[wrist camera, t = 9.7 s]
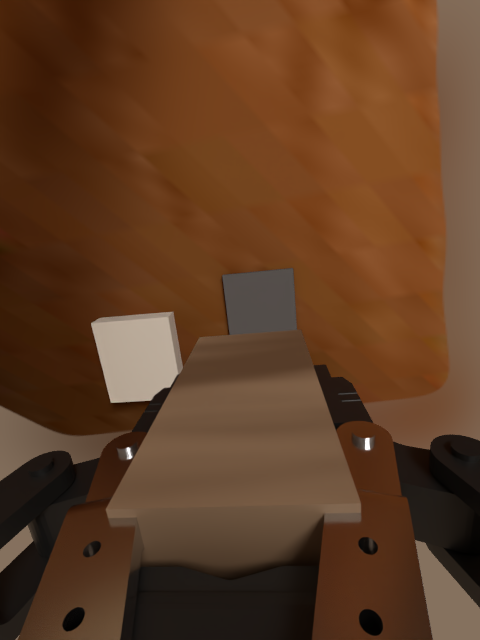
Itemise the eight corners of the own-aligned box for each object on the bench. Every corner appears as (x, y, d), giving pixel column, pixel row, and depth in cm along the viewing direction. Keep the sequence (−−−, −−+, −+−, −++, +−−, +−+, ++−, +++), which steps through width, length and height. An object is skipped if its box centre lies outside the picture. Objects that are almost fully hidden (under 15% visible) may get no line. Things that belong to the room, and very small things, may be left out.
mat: (222, 275, 28) (222, 275, 27) (292, 268, 27) (293, 268, 27) (232, 349, 30) (231, 351, 29) (297, 344, 29) (297, 346, 29)
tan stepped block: (194, 337, 13) (94, 509, 5) (306, 329, 12) (374, 502, 5) (227, 544, 16) (193, 840, 8) (316, 543, 16) (368, 853, 8)
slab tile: (90, 323, 28) (110, 402, 31) (168, 316, 28) (182, 398, 30) (101, 317, 30) (119, 392, 32) (174, 310, 29) (187, 388, 32)
